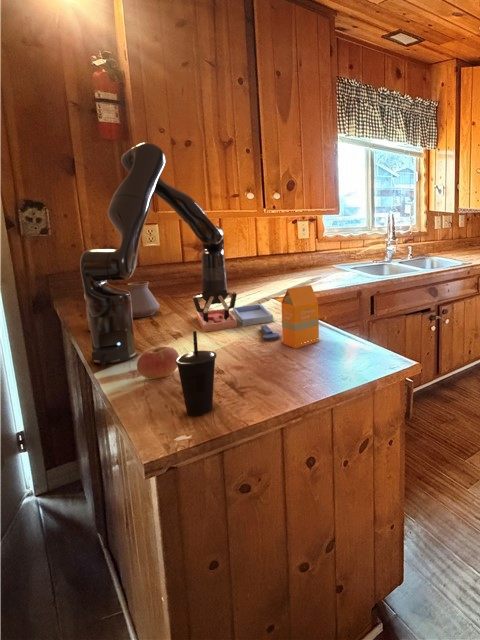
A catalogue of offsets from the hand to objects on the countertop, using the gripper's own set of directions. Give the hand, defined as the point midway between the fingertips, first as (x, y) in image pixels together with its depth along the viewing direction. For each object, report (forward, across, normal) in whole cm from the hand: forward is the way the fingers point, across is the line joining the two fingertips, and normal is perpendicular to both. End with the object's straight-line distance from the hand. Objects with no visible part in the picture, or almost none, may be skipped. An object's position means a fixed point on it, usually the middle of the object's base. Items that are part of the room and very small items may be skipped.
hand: (216, 320), depth 157 cm
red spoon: (0, 0, 0) cm, 1 cm away
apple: (+1, -19, -44) cm, 48 cm away
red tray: (+1, 0, 0) cm, 1 cm away
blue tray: (+1, +12, 0) cm, 12 cm away
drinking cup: (+1, -13, -72) cm, 73 cm away
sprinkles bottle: (+1, -33, +13) cm, 35 cm away
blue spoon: (+1, +12, -25) cm, 28 cm away
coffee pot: (+1, -26, +26) cm, 37 cm away
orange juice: (+1, +19, -39) cm, 43 cm away
